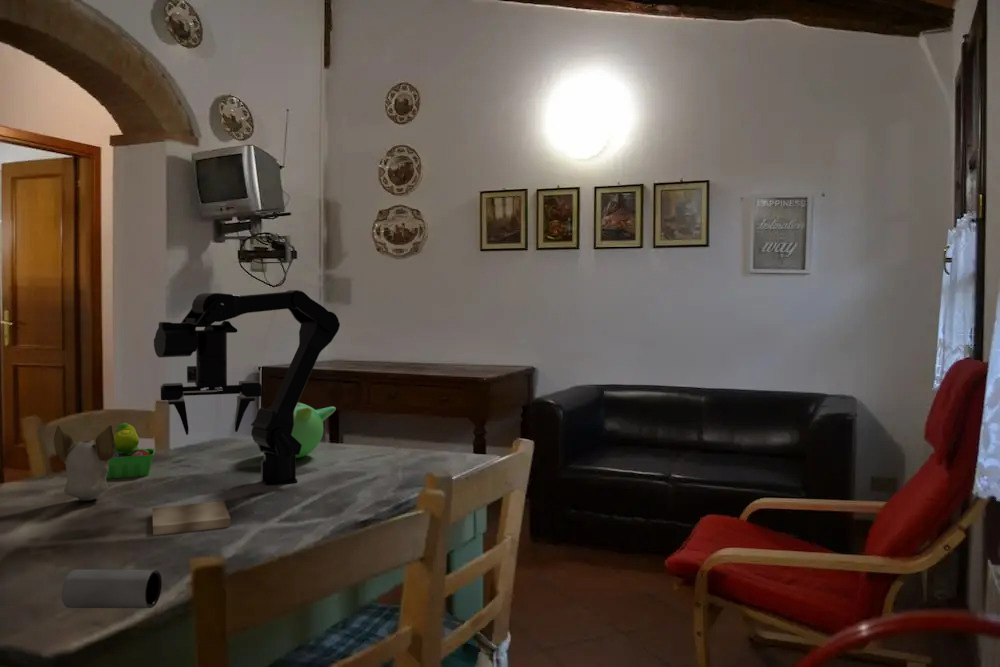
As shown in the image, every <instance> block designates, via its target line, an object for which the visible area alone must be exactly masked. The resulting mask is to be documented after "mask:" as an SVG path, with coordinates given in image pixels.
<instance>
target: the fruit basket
mask: <svg viewBox="0 0 1000 667" xmlns="http://www.w3.org/2000/svg"><path fill="white" fill-rule="evenodd" d="M115 431H116V432H115V433H114V434H113V436H114V440H115V445H116V447H115V454H114V455H113V457H112V458H111V459H110V460H109V468H108V473H107V477H106V479H114V478H115V479H116V478H131V477H146V476H147V477H148V476H149V474H150V470H151V467H152V466H151V465H152V462H153V459H154V457H155V448H139V447H138V445H139V441H140V438H139V435H138V434H137V430H136V428H135V427H134V426H133V425H132V424H130V423H127V422H124V423H120V424H119V425H118V427H117V429H116V430H115Z"/></svg>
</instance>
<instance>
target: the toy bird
mask: <svg viewBox="0 0 1000 667" xmlns="http://www.w3.org/2000/svg"><path fill="white" fill-rule="evenodd" d="M336 409H337V408H336V407H335V406H328V407H324V408H317V409H315V408H313V407H312V406H310V405H307V404H305V403H302V402H300V401H298V403H297V405H296V407H295V410H294V427H293V431H292V434H291V435H292V436H293V437H294V438H295V439H296V440H297V441H298V442H299V443H300V444H301V445H302V447H301V450H300V453H299V454H298V455H296V459H300V458H302V457H305V456H307V455H309V454H311V453H312V452H314V450H315V449H316V448H317V447H318V446H319V445H320V443H321V440H322V438H323V435H324V421H326V420H327V419H328V418H329V417H330V416H331V415H333V414H334V412H336ZM264 453H266V452H264Z"/></svg>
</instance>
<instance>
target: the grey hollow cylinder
mask: <svg viewBox="0 0 1000 667" xmlns="http://www.w3.org/2000/svg"><path fill="white" fill-rule="evenodd" d="M162 583H163V581H162V575H161V572H160V571H159V570H157V569H73V570H71V571H70V572H69V573H68V574H67V575H66V577H65V579H64V581H63V584H62V588H61V602H62V603H63V605H64V606H65V607H66V608H69V609H70V608H71V609H152V608H154V607H155V606H156V605H157V603H158V601H159V599H160V596H161V591H162V586H163V584H162Z"/></svg>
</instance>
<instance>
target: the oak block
mask: <svg viewBox="0 0 1000 667" xmlns="http://www.w3.org/2000/svg"><path fill="white" fill-rule="evenodd" d="M151 510H152V512H151V514H152V518H151V520H152V535H153V536H156V535H164V534H165V535H166V534H167V535H168V534H176V533H186V532H194V531H203V530H212V529H220V528H222V529H223V528H231V520H232V518H231V516H230V513H229V510H228V509H227V506H226V503H225V501H224V500H221V501H212V502H210V501H209V502H200V503H193V504H192V503H191V504H189V503H188V504H181V505H180V504H179V505H173V506H172V505H171V506H162V507H160V506H159V507H154V508H153V507H152V508H151Z"/></svg>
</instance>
